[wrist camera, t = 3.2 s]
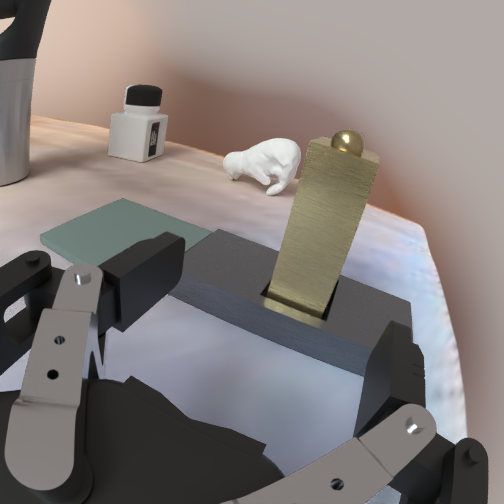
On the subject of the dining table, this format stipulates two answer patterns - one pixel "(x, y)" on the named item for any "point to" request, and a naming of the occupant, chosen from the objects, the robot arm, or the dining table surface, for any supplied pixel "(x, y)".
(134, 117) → the container
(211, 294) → the plane body
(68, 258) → the mat
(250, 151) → the white humped figurine
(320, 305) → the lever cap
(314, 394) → the dining table surface
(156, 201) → the dining table surface
